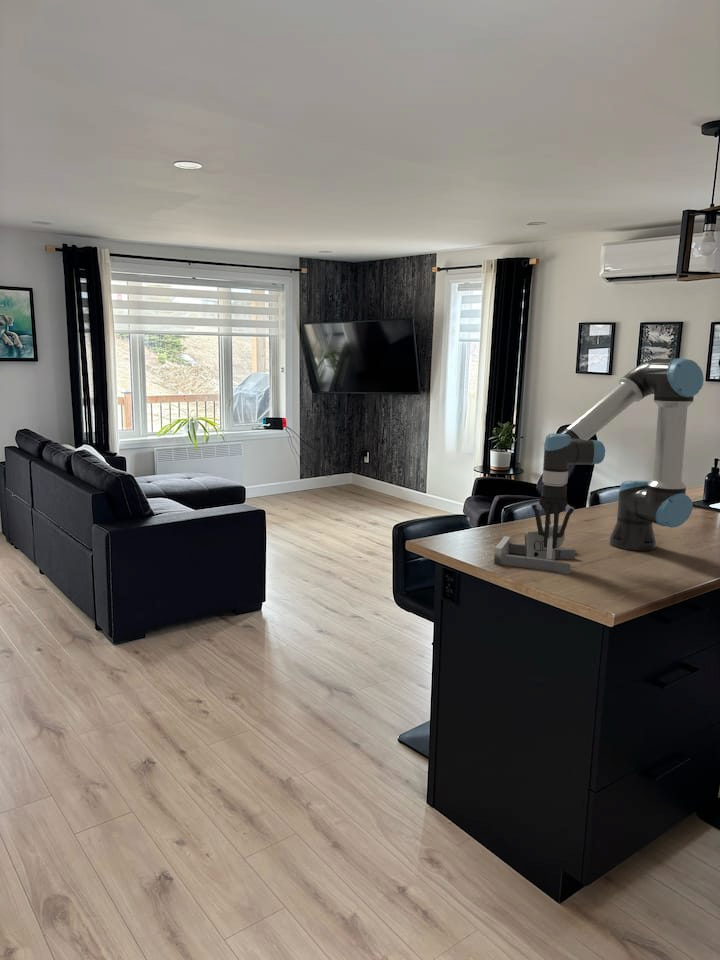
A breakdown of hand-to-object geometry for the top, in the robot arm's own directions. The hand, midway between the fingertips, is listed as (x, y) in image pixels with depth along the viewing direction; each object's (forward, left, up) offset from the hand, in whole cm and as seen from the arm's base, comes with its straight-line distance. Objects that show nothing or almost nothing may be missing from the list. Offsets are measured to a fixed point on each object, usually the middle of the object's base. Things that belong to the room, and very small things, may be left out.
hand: (549, 557), depth 222 cm
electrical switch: (+4, -4, -2) cm, 6 cm away
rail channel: (+4, 0, -2) cm, 5 cm away
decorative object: (+2, -20, -2) cm, 20 cm away
